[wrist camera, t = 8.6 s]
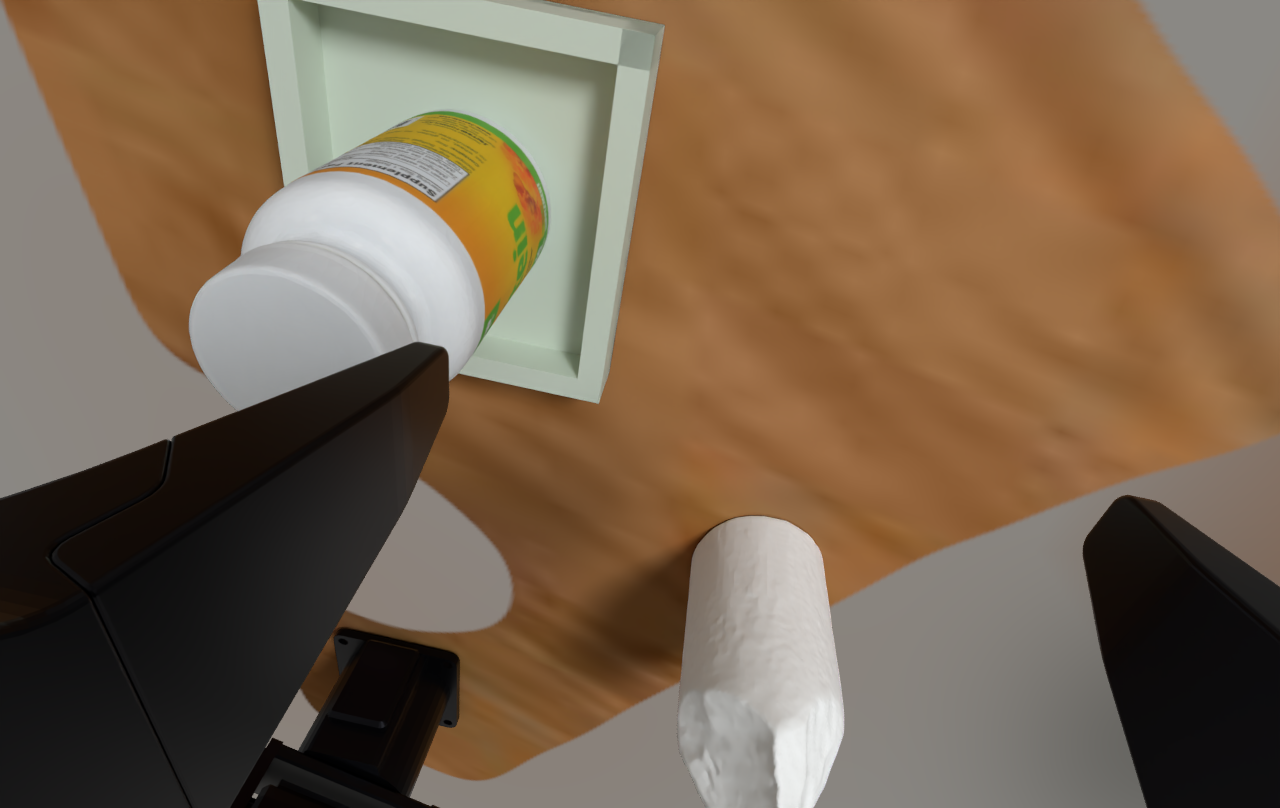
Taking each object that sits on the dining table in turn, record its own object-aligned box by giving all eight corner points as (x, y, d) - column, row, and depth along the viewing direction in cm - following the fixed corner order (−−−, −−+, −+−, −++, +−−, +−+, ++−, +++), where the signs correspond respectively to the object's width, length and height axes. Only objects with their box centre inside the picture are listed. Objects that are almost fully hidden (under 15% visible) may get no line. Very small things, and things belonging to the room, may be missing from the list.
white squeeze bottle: (691, 819, 18) (903, 876, 18) (716, 498, 27) (852, 537, 27) (636, 904, 21) (813, 952, 21) (675, 593, 31) (796, 627, 31)
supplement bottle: (538, 302, 23) (417, 505, 15) (378, 253, 23) (170, 432, 15) (570, 138, 20) (439, 284, 12) (385, 79, 19) (125, 188, 12)
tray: (609, 371, 25) (598, 403, 23) (336, 313, 25) (306, 340, 23) (664, 25, 18) (655, 35, 17) (295, -50, 18) (250, -47, 17)
